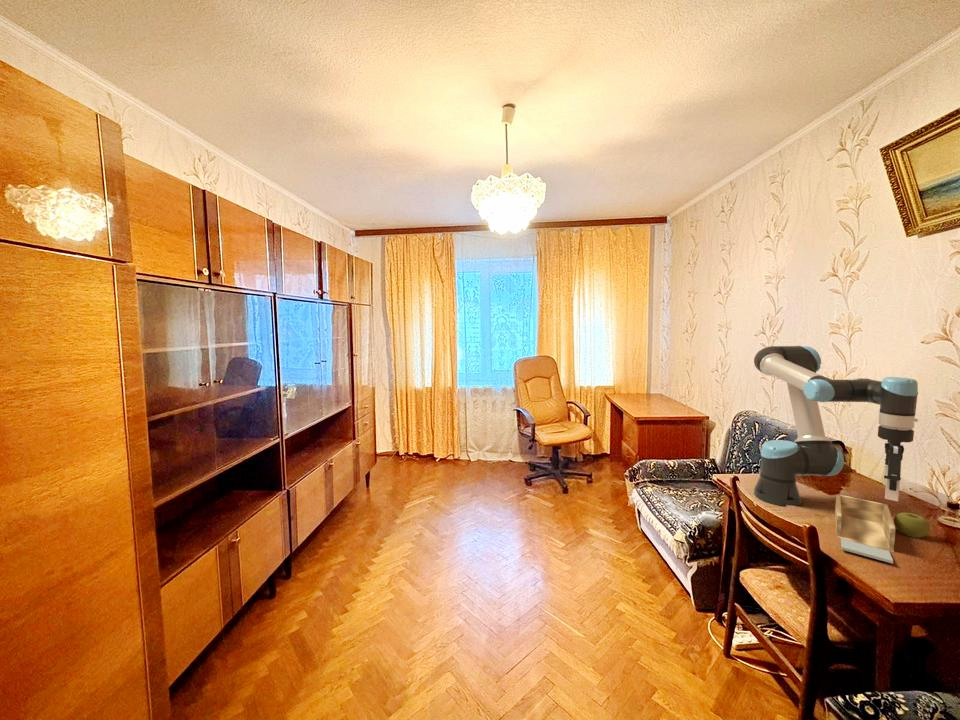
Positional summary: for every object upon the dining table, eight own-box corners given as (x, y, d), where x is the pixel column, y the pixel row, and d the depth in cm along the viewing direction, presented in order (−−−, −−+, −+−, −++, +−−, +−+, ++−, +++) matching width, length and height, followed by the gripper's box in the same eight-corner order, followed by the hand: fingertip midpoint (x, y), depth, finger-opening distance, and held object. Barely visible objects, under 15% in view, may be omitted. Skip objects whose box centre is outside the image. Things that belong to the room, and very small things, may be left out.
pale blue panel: (840, 541, 124) (841, 550, 117) (840, 538, 124) (841, 546, 117) (888, 554, 117) (892, 565, 110) (889, 551, 117) (893, 561, 110)
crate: (835, 539, 125) (837, 516, 125) (834, 514, 142) (836, 493, 141) (893, 554, 117) (895, 530, 116) (885, 526, 133) (887, 504, 132)
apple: (931, 545, 122) (933, 523, 121) (894, 536, 127) (896, 515, 126) (926, 535, 127) (928, 515, 126) (891, 527, 132) (893, 507, 132)
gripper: (918, 438, 107) (911, 510, 109) (910, 421, 124) (905, 483, 126) (879, 433, 112) (873, 502, 114) (877, 417, 130) (872, 477, 132)
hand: (890, 492), depth 120 cm, fingers open, 13 cm apart
